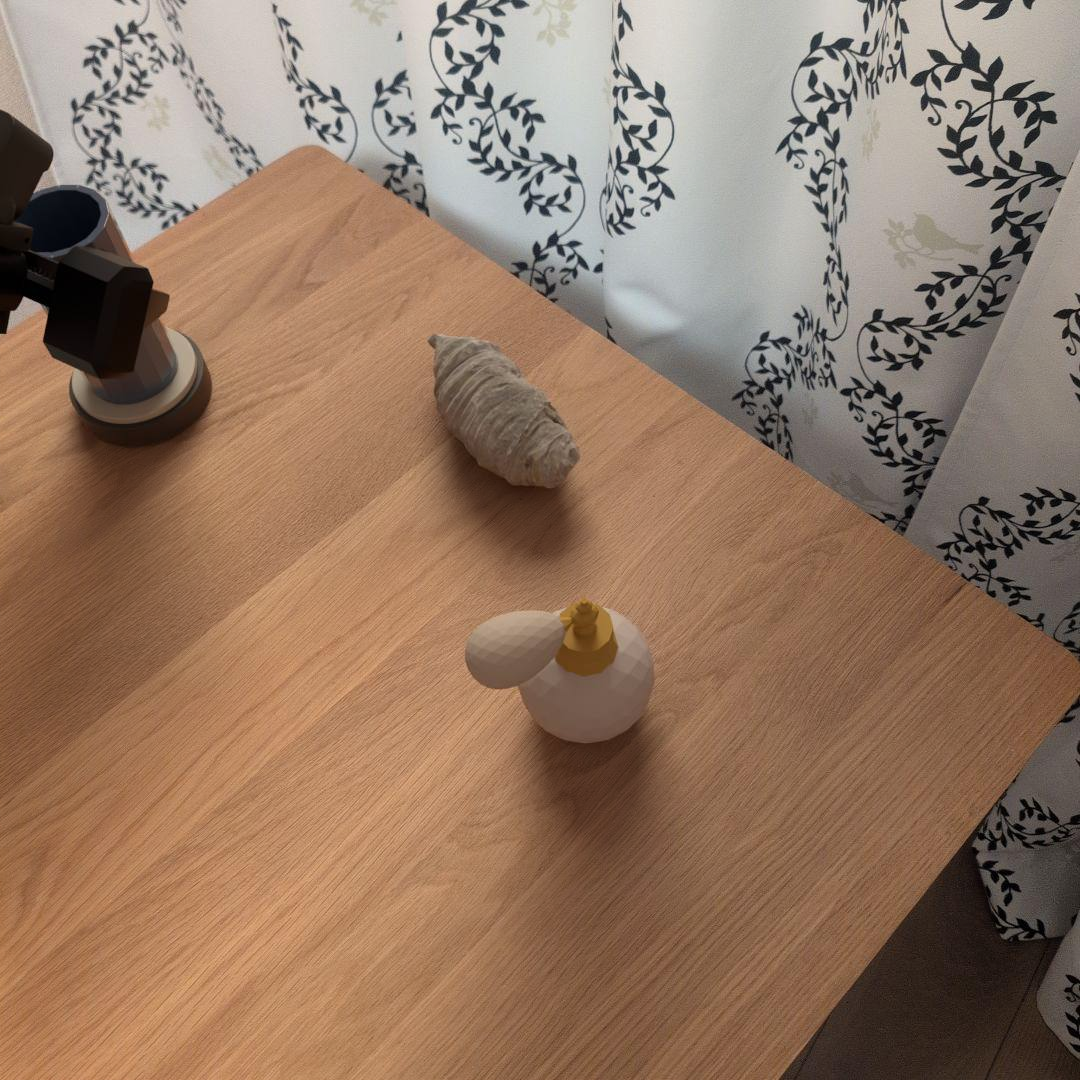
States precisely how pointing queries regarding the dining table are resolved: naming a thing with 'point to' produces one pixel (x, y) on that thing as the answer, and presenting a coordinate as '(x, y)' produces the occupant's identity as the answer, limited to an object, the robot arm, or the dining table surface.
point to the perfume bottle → (567, 668)
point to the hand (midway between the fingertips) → (108, 277)
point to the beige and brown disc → (149, 403)
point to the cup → (90, 223)
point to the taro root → (500, 413)
